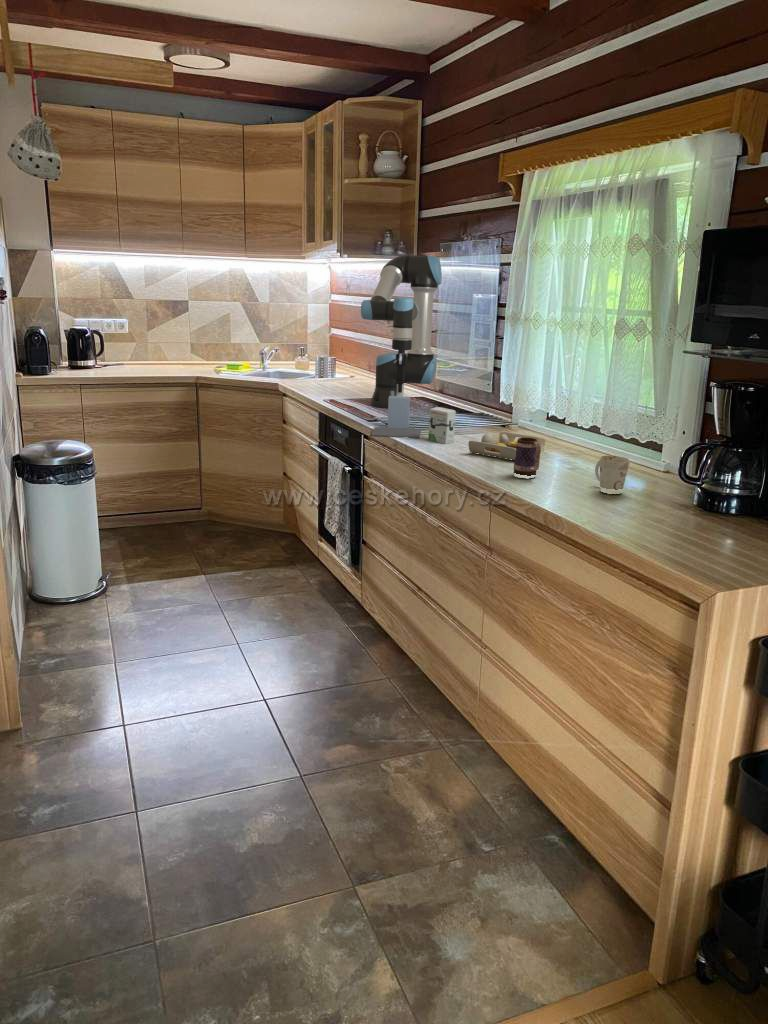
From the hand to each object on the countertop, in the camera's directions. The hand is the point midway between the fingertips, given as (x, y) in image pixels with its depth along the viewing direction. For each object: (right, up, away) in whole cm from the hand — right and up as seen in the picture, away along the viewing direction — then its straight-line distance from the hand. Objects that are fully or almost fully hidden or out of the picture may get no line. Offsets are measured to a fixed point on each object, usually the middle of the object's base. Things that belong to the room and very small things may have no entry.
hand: (399, 400), depth 309 cm
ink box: (+15, -18, -22) cm, 32 cm away
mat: (-2, -14, -11) cm, 18 cm away
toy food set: (+37, -24, -35) cm, 56 cm away
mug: (+59, -38, -79) cm, 105 cm away
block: (-1, -11, -1) cm, 11 cm away
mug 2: (+38, -34, -68) cm, 84 cm away
